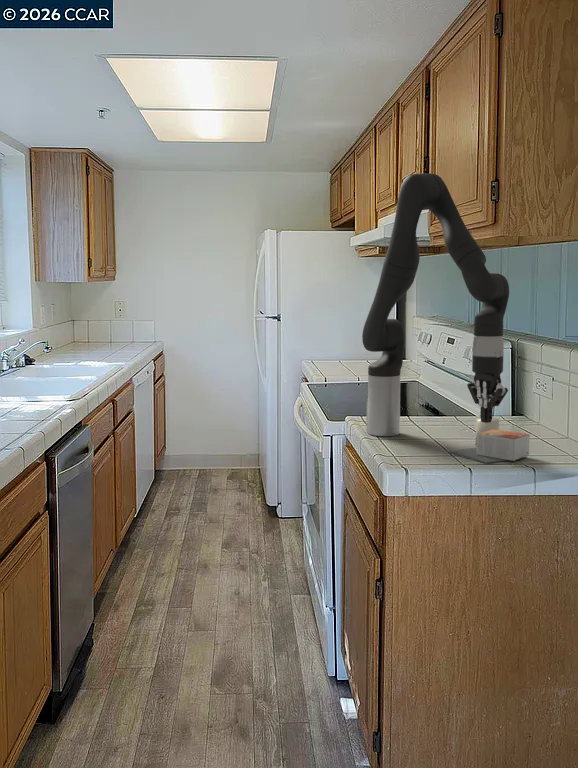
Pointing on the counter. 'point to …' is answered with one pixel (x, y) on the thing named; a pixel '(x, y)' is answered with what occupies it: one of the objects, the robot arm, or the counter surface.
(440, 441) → the counter surface
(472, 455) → the mat
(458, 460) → the counter surface
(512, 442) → the small box
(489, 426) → the beige rounded block
